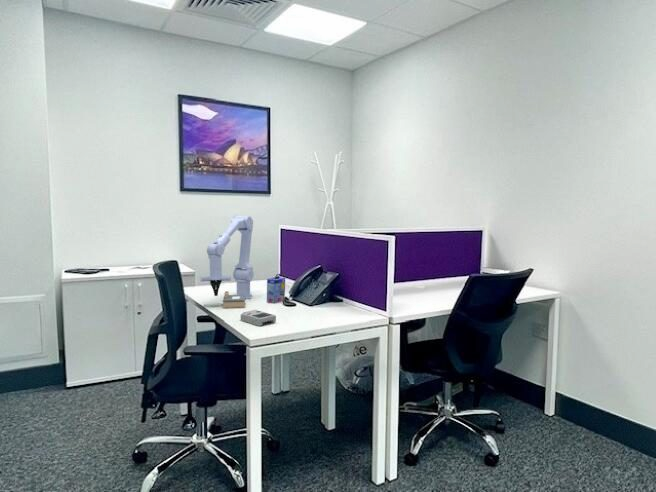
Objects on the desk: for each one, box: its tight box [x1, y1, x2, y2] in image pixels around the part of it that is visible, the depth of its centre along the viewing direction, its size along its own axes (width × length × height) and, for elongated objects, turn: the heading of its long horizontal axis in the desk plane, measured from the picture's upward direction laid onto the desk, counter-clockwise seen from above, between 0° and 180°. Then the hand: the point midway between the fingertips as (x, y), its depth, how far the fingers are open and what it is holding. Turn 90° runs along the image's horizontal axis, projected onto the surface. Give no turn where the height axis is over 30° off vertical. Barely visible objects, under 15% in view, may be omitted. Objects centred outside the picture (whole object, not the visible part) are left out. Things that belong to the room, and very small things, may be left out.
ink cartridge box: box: [266, 273, 286, 304], centre depth 231 cm, size 10×6×14 cm, turn 152°
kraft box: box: [222, 300, 246, 309], centre depth 222 cm, size 12×10×3 cm
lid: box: [222, 290, 246, 302], centre depth 221 cm, size 12×10×3 cm
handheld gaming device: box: [240, 309, 277, 327], centre depth 192 cm, size 9×15×4 cm, turn 46°
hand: (216, 295), depth 220 cm, fingers closed
